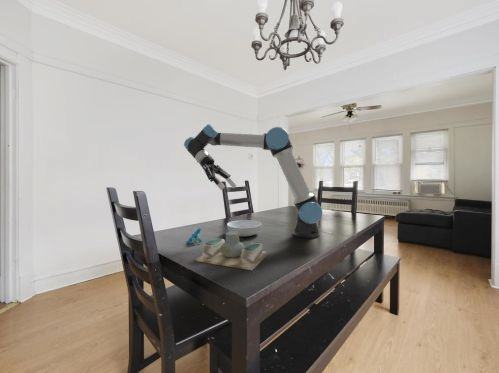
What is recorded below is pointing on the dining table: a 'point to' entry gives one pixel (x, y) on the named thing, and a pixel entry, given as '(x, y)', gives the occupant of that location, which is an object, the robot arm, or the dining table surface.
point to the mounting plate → (245, 261)
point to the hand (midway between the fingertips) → (229, 187)
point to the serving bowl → (244, 227)
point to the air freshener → (232, 245)
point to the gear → (195, 236)
